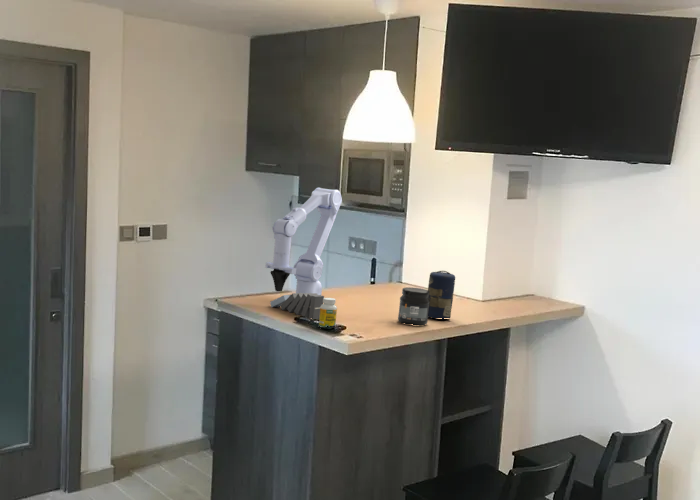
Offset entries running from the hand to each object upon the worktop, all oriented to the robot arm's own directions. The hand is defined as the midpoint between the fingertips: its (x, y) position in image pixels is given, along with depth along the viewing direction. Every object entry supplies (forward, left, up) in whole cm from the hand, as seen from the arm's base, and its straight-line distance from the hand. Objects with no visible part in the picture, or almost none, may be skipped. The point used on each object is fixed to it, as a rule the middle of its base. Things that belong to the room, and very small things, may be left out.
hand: (278, 290), depth 271 cm
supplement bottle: (+6, +32, -6) cm, 33 cm away
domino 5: (0, +16, -6) cm, 17 cm away
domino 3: (0, +8, -5) cm, 10 cm away
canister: (-47, +36, -6) cm, 60 cm away
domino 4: (0, +12, -5) cm, 13 cm away
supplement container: (-30, +38, -6) cm, 49 cm away
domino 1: (0, -1, -5) cm, 5 cm away
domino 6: (0, +20, -6) cm, 21 cm away
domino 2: (0, +4, -5) cm, 7 cm away
